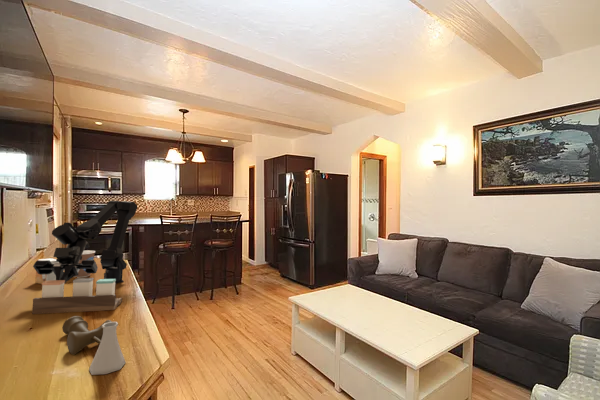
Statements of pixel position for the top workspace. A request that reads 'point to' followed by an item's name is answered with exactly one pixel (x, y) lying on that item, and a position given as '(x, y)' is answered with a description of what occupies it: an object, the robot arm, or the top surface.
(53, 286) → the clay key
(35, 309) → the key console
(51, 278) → the small box
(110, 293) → the teal key
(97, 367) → the flask
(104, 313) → the top surface
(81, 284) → the grey key
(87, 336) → the kendama
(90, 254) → the coffee cup
